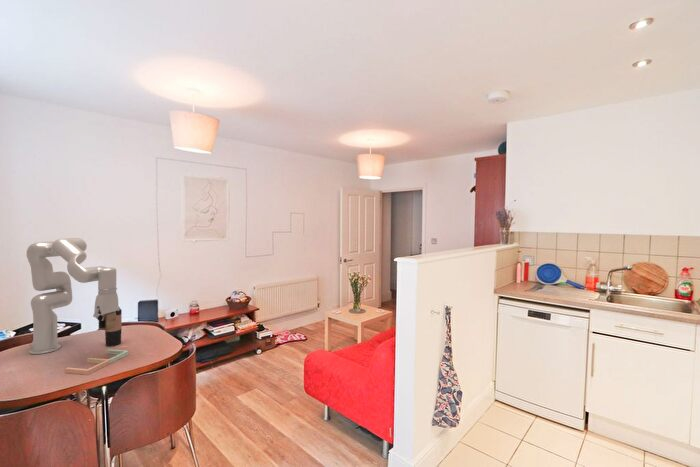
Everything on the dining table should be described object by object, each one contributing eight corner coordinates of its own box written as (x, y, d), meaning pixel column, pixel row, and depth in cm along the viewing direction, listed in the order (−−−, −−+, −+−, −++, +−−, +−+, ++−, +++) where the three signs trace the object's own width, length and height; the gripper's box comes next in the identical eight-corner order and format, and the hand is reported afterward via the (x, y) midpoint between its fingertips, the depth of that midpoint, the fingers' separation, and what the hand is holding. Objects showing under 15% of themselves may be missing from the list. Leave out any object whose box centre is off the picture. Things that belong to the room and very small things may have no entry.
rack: (64, 372, 148) (64, 368, 148) (108, 352, 171) (108, 349, 171) (87, 374, 147) (87, 370, 147) (128, 354, 170) (128, 350, 170)
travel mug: (112, 347, 179) (112, 312, 179) (101, 345, 181) (101, 311, 180) (124, 342, 187) (125, 309, 186) (114, 341, 188) (114, 308, 188)
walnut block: (98, 329, 161) (98, 314, 161) (107, 326, 166) (107, 311, 166) (107, 330, 161) (107, 314, 161) (115, 327, 166) (115, 312, 166)
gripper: (115, 287, 172) (114, 320, 172) (85, 294, 155) (85, 330, 156) (127, 288, 171) (127, 321, 172) (98, 295, 154) (98, 331, 155)
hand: (107, 325), depth 164 cm, fingers closed on walnut block, 5 cm apart
